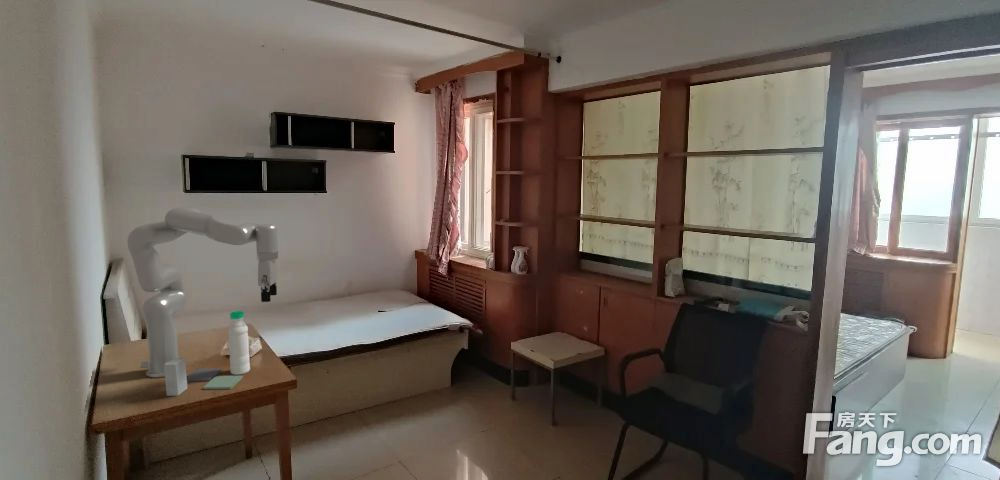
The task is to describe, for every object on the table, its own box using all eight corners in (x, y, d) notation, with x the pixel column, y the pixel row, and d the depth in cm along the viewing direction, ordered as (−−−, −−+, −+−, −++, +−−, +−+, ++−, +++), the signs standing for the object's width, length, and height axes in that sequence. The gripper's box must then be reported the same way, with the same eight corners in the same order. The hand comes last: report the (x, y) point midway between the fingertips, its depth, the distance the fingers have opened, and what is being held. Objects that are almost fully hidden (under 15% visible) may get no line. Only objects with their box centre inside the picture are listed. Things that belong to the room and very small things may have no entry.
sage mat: (202, 389, 178) (202, 387, 178) (216, 377, 188) (216, 375, 188) (230, 388, 179) (230, 386, 179) (242, 377, 189) (242, 375, 189)
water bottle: (254, 370, 196) (250, 311, 192) (238, 376, 190) (234, 315, 186) (242, 366, 199) (238, 308, 195) (226, 373, 193) (222, 313, 189)
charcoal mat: (182, 381, 184) (182, 379, 184) (196, 370, 194) (196, 368, 194) (209, 381, 185) (209, 379, 185) (222, 370, 195) (222, 368, 195)
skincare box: (175, 388, 178) (173, 357, 177) (187, 388, 179) (185, 357, 177) (165, 396, 172) (163, 364, 171) (178, 396, 173) (175, 364, 171)
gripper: (263, 252, 196) (265, 293, 198) (250, 260, 179) (252, 304, 182) (283, 252, 197) (284, 292, 200) (272, 260, 181) (273, 304, 183)
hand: (269, 298), depth 191 cm, fingers open, 9 cm apart
